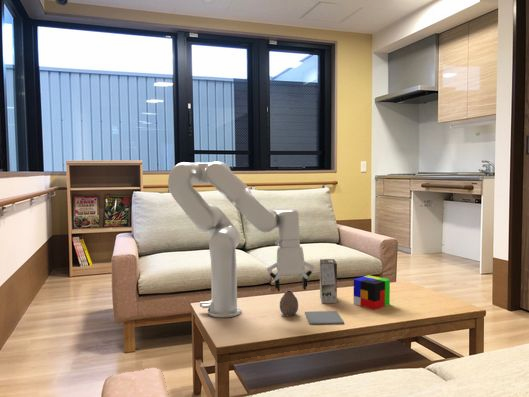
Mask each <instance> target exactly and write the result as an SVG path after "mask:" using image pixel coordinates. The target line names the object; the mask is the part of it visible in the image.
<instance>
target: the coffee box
mask: <svg viewBox="0 0 529 397" xmlns="http://www.w3.org/2000/svg"><path fill="white" fill-rule="evenodd" d="M319 298H320V302H321V304H323V303H324V304H329V303H330V304H331V303H333V304H336V303H337V302H338V301H337V300H338V263H337V261H336V260H335V259H334V258H331V259H330V258H328V259H327V258H325V259H321V258H319Z"/></svg>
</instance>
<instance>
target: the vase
mask: <svg viewBox="0 0 529 397" xmlns="http://www.w3.org/2000/svg"><path fill="white" fill-rule="evenodd" d="M298 301H299V300H298V298H297V297H296V296H295V294H294V293H293V290H286V291H285V292H284V294H283V295H282V297H281V298H280V300H279V309H280V312H281V313H282V315H283V316H285V317H293V316H295V315H296V314H297V313H298V310H299V302H298Z"/></svg>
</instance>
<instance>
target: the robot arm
mask: <svg viewBox="0 0 529 397" xmlns="http://www.w3.org/2000/svg"><path fill="white" fill-rule="evenodd" d="M168 174H169V175H168V180H167V184H168V189H169V193H170V194H171V197H172V198H173V200H174V201H175V202H176V203H177V204H178V206H179V207H180V208H181V209H182V211H183V212H184V214H186V216H187V217H188V218H189V220H190V221H191V222H192V223H193V225H194V226H195V228H196V229H197V230H199V231H201V232H204V233H205V232H208V233H209V234H210V238H209V244H208V245H209V247H208V248H209V255H210V274H211V275H210V277H211V278H210V279H211V281H210V282H211V289H210V291H211V299H210V300H208V301H200V302H199V307H200V308H202V309H207V314H208V316H211V317H214V318H226V319H227V318H232V317H236V316H238V315H240V314H241V313H242V308H241V307H240V306H239V305H238V284H237V283H238V280H237V278H238V277H237V275H238V271H237V270H238V269H237V254H236V249H237V247H238V245H239V244H240V241H241V235H240V232H239V230H238V229H237V227H235V225H234V223H232V221H231V220H230V219H229V218H228V216H227V215H226V214H225V213H224V212H223V210H222V209H220V207H218V206H217V205H214V204H209V203H207V202H206V200H205V199H204V198H203V197H202V195H201V194H200V193H199V192H198V191H197V190H196V188H194V186H193V185H211V186H212V187H214V189H215V190H217V191H218V192H219V193H220V194H221V195H223V197H225V198H226V199H227V200H228V201H229V202H230V203H231V204H232V206H233V207H234V208H235V209H236V210H237V211H238V213H240V214H241V215H242V216H243V217H244V219H246V221H248V222H249V223H250V224H251V225H252V226H253V227H255V229H257V230H258V231H260V232H261V233H270V232H272V231H273V230H274V229H278V240H275V242H274V244H275V245H277V246H278V247H277V248H276V262H275V263H274V264H272V265H269V266H268V267H267V268H266V271H267V272H268V274H269V276H270V277H271V278H272V279H274V282H275V283H274V287H275V289H276V290H277V292H280V277H281V276H284V277H285V276H299V275H302V278H301V279H302V289H303V290H305V291H306V290H307V287H308V278H309V277H310V276H311V275H312V273H313V270H314V269H315V266H314V265H313V264H311V263H310V262H309V263H308V262H307V261H305V256H304V249H303V246H302V245H301V243H300V242H301V241H300V220H299V219H300V217H299V211H298V210H297V209H282V210H281V209H280V210H279V209H278V210H277V209H271V208H270V209H268V208H266V207H265V206H264V205H263V204H261V203H260V202H259V201H258V199H257V198H256V197H255V196H254V195H253V193H252V191H251V189H250V187H249V186H248V185H247V184H246V183H245V182H244V181H243V180H242V179H240V178H239V177H238V176H237V175H236V174H234V173H233V172H232V169H231V167H230V166H229V165H228V164H227V163H225V162H223V161H212V162H185V161H183V162H179V163H177V164H176V165H174V166H173V167H172V168H171V170H170V172H169V173H168ZM306 267H307V268H308V270H307V271H306ZM274 269H276V273H274V272H273V270H274Z"/></svg>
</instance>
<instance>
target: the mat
mask: <svg viewBox="0 0 529 397" xmlns="http://www.w3.org/2000/svg"><path fill="white" fill-rule="evenodd" d="M304 314H305V318H306V320H307V322H308V324H309V325H310V326H315V325H316V326H318V325H319V326H320V325H321V326H322V325H344V324H345V321H344V319H342V316H341V315H340V313H338V311H337V310H320V311H318V310H317V311H316V310H315V311H304Z"/></svg>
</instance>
